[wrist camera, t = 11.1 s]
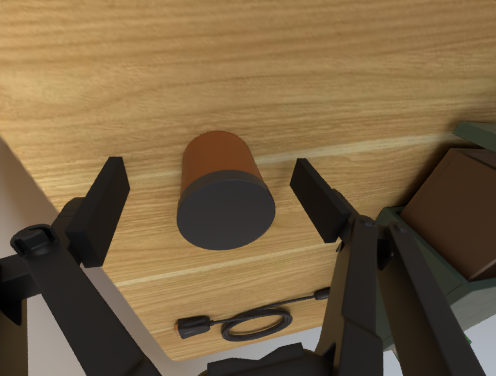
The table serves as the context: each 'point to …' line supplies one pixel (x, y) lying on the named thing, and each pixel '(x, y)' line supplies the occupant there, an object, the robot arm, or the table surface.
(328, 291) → the cable
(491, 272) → the drawer
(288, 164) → the table surface
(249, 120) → the table surface
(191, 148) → the jar
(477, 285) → the cabinet
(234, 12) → the table surface
